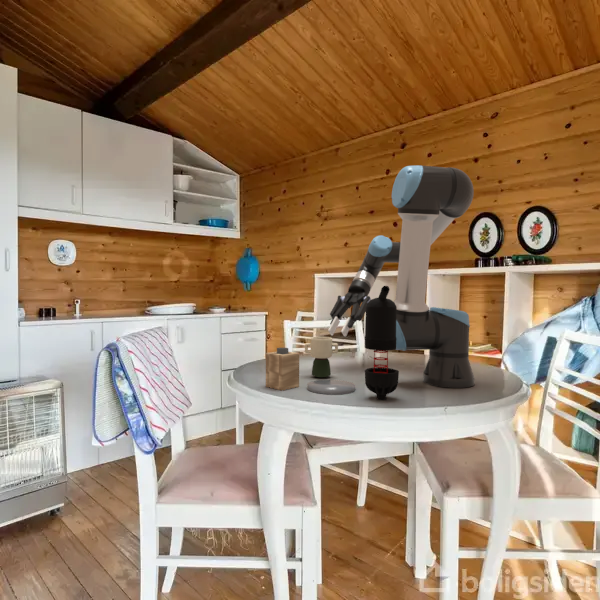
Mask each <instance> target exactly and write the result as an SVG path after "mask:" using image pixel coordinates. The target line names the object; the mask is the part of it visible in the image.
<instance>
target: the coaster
mask: <svg viewBox="0 0 600 600" xmlns="http://www.w3.org/2000/svg"><path fill="white" fill-rule="evenodd" d="M306 389H308V390H307V391H309V392H311V393H315V394H320V395H331V396H332V395H335V396H336V395H348V394H351V392H352V393H354V392H355V391H356V384H355V383H353V382H351V381H347V380H341V379H339V380H338V379H318V380H311V381H309V382H307V384H306Z"/></svg>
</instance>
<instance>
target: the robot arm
mask: <svg viewBox="0 0 600 600" xmlns="http://www.w3.org/2000/svg"><path fill="white" fill-rule="evenodd" d="M394 179H395V180H394V183H393V185H392V189H391V190H392V191H391V203H392V206H393V207H395V208H397V215H398V216H399V218H400V219H401V220H402V221H401V223H402V224H401V231H400V232H401V234H400V241H398V242H397V241H392V240H391V238H389V237H386V236H384V235H376V236H375V237H373V239H372V240H371V242H370V243H369V245H368V248H367V251H366V253H365V256H364V258H363V260H362V262H361V264H360V266H359V268H358V271H357V273H356V274H355V276H354V277H353V279H352V281H351V282H350V285H349V287H348V291H347V293H345V295H344V296H341V295H338V296H337V299H336V302H335V304H334V306H333V308H332V309H331V311H330V313H329V315H330V317H331V321H330V325H329V328H328V329H327V331H328V333H329V335H330V336H331V337H332V336H334V334H335V332H336V330H337V328H338V326H339V324H340V323H341V322H340V319H341V318H342V317H343V316H344V315H345V313H346V312H347V311H348V309H351V307H352V310H351V314H349V316H350V317H349V316H348V317H347V319H346V321H345V322H344V325H343V326H342V328H341V331H340V332H341V334H342V335H343V337H347V335H348V333H349V331H350V329H352V328H353V326H354V324H355V323H356V322H357V321H358V322H361V321H362V319H363V317H364V316H365V315H366V304H367V303H368V302H369V301H370V300H372V298H371V296H370V292H371V290H372V288H373V286H374V284H375V282H376V279H377V277H378V276H379V274H380V272H381V270H383V269H382V268H383V266H384V265H385V264H386V263H390V264H391V263H396V264H397V263H398V267H397V280H396V291H395V300H394V301H393V302H394V303H395V305H396V307H397V314H396V338H397V340H396V343H397V344H396V349H395V350H394V351H403V352H405V351H417V350H419V351H425V350H426V351H428V353H429V355H428V360H427V362H426V365H425V368H424V372H423V375H422V382H423V383H424V384H426V385H430V386H433V387H434V386H435V387H441V388H453V389H455V388H457V389H459V388H469V387H470V388H471V387H474V386H475V376H474V375H475V374H474V372H473V369H472V366H471V361H470V360H469V358H470V355H469V354H470V353H469V352H470V351H469V348H470V343H469V342H470V327H471V325H470V317H469V313H467V312H466V311H464V310H458V309H452V308H451V309H450V308H444V307H435V306H432V307H430V306H428V304H427V303H426V292H427V283H428V275H429V274H428V273H429V263H430V255H431V246H432V244H434V243H435V241H436V240H438V238H439V237H440V236H441V235H442V233H444V231H445V230H446V229H447V228H448V227H449V225H451V223H453V222H454V220H455V219H459V218H461V217H462V216H464V214H465V213H466V212H467V211H468V209H469V208H470V207H471V204H472V202H473V199H474V185H473V182H472V180H471V178H470V177H469V175H468V174H467V173H466V172H464V171H463V170H462V169H459V168H455V167H452V166H451V167H450V166H449V167H443V166H431V165H421V164H420V165H418V164H417V165H407V166H404V167H402V169H401V170H399V172H398V174H397V175H396V177H395V178H394Z"/></svg>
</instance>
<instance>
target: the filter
mask: <svg viewBox="0 0 600 600" xmlns="http://www.w3.org/2000/svg"><path fill="white" fill-rule="evenodd" d="M389 292H390V287H389V286H388V285H383V286H382V287H381V289H380V293H379V296H378V297H375V298H371V300H370V301H369V302H368V303H367V304H366V312H365V326H364V327H365V328H364V329H365V330H364V331H365V332H364V349H366V350H371V351H373V367H369V368H366V369H364V384H365V386H366V388H367V389H368V390H369V391H370V392H372V393H374V394H376V399H377V400H378V401H379V400H380V401H384V400H386V399H387V395H389V394H391V393H393V392H395V390H396V389H397V387H398V386H399V377H400V376H399V375H400V371H399V370H398V369H395V368H389V357H388V356H389V351H396V350H395V349H396V344H397V343H396V340H397V338H396V314H397V307H396V305H395V303H394V301H393V300H392V299H389V298H387V297H388V295H389V294H390V293H389ZM375 353H378V354H385V353H386V357H383V356H379V357H376V354H375ZM375 361H386V364H376V362H375Z"/></svg>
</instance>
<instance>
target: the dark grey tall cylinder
mask: <svg viewBox="0 0 600 600" xmlns="http://www.w3.org/2000/svg"><path fill="white" fill-rule="evenodd" d="M276 352H277V354H288V352H289V348H288V347H277V348H276Z"/></svg>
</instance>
